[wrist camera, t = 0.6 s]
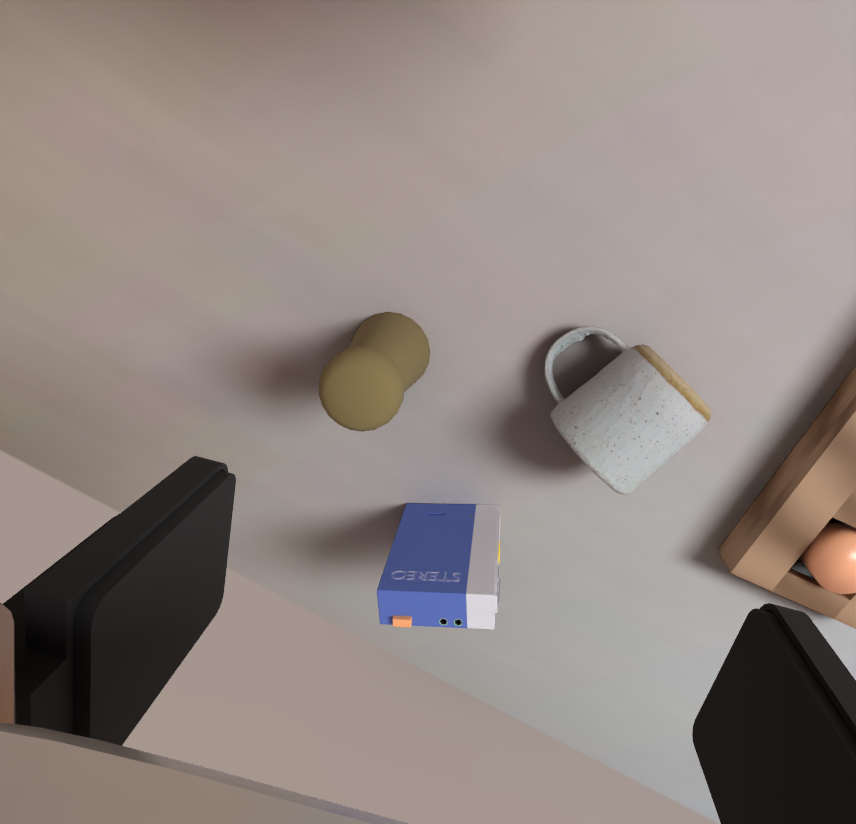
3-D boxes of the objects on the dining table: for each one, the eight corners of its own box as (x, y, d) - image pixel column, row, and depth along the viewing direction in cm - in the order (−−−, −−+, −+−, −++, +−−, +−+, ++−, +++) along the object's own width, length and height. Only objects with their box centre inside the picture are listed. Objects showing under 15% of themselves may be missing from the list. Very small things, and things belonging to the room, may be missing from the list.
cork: (441, 375, 45) (420, 429, 34) (370, 399, 46) (329, 457, 36) (412, 300, 43) (382, 333, 33) (339, 327, 44) (287, 367, 34)
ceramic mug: (701, 395, 43) (737, 434, 35) (614, 467, 45) (632, 516, 38) (599, 294, 41) (615, 313, 34) (516, 374, 44) (515, 408, 37)
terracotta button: (823, 513, 43) (840, 531, 41) (877, 538, 43) (898, 557, 41) (787, 559, 44) (801, 578, 42) (839, 582, 45) (856, 603, 42)
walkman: (408, 531, 50) (379, 628, 39) (406, 502, 49) (375, 593, 38) (501, 533, 49) (498, 634, 38) (501, 504, 48) (498, 598, 37)
